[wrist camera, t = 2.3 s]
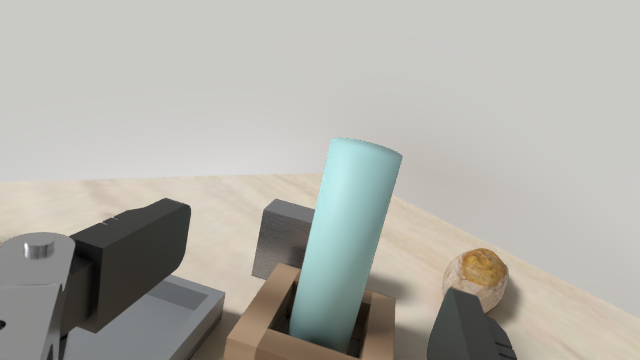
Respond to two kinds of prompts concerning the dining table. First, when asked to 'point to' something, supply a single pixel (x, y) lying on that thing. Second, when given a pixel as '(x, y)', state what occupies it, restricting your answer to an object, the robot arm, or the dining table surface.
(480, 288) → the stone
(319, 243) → the dowel
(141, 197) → the dining table surface
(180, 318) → the tray
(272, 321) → the socket
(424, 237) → the dining table surface
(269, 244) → the gray rectangular block
